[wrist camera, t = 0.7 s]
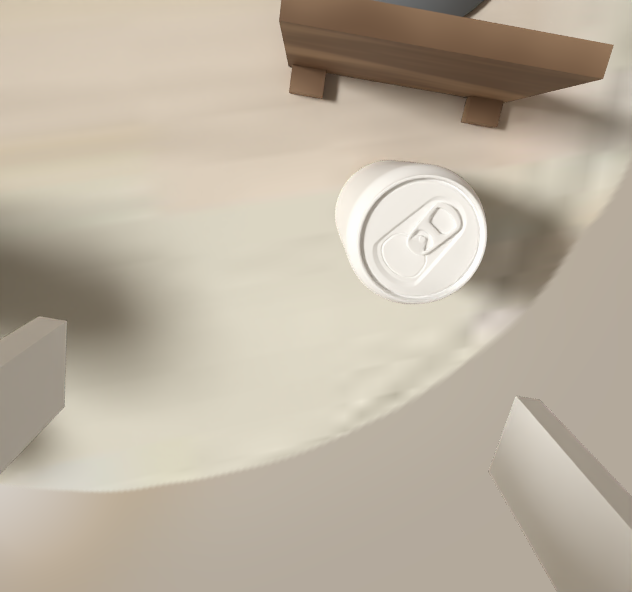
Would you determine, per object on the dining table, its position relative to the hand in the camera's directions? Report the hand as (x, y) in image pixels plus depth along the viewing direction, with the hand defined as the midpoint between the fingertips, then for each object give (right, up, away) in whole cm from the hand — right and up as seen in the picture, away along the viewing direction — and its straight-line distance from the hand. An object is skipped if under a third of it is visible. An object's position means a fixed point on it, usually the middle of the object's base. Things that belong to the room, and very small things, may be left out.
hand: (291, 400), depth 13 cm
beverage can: (+6, +10, +23) cm, 26 cm away
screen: (+7, +19, +20) cm, 28 cm away
